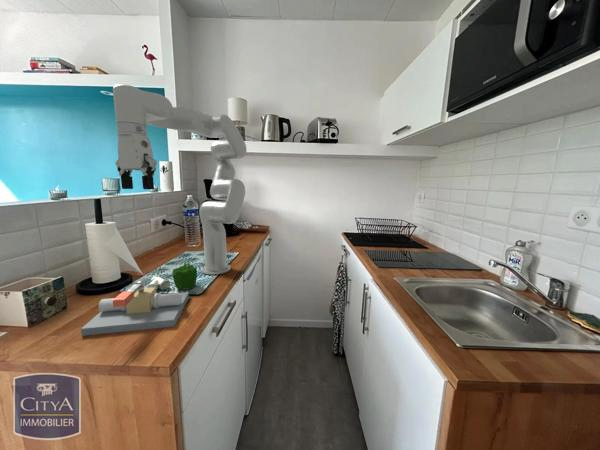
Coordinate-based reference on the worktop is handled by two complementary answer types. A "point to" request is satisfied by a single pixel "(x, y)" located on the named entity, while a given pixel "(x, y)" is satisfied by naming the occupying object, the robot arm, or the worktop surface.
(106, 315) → the pipe board
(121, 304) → the valve lever
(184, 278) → the bell pepper
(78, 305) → the worktop surface
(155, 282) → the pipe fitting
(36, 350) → the worktop surface
